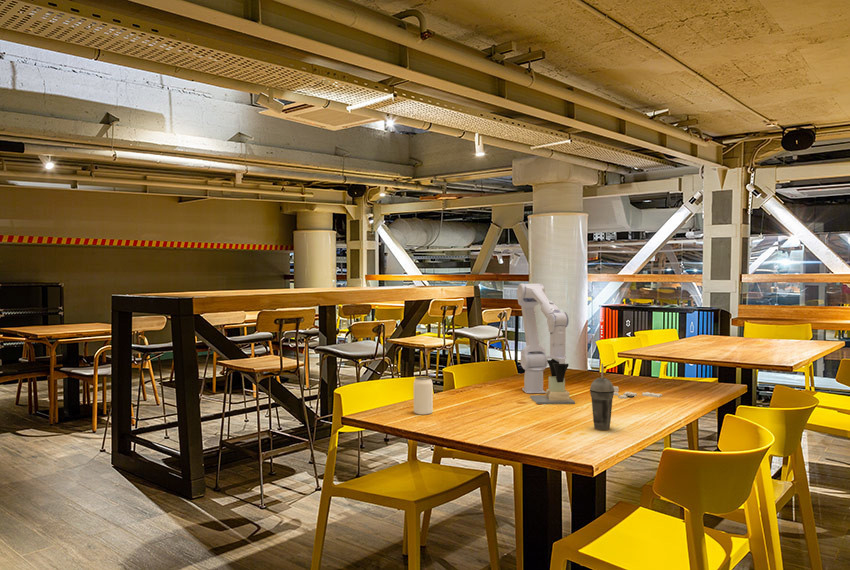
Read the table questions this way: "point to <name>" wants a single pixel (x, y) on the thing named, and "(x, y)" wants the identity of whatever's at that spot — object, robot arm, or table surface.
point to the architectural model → (633, 394)
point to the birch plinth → (557, 395)
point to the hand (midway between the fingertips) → (557, 380)
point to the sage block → (556, 385)
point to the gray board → (544, 400)
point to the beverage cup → (602, 402)
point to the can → (423, 395)
